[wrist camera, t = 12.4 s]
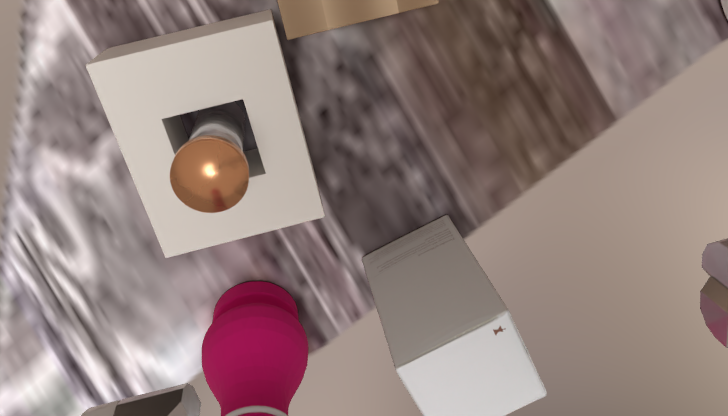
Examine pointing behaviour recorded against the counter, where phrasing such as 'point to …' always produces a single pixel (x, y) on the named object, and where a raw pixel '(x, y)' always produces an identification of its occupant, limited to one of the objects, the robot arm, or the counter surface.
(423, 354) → the supplement box
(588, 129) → the counter surface
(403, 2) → the mount
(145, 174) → the dock
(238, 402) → the pepper mill
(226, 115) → the pin
